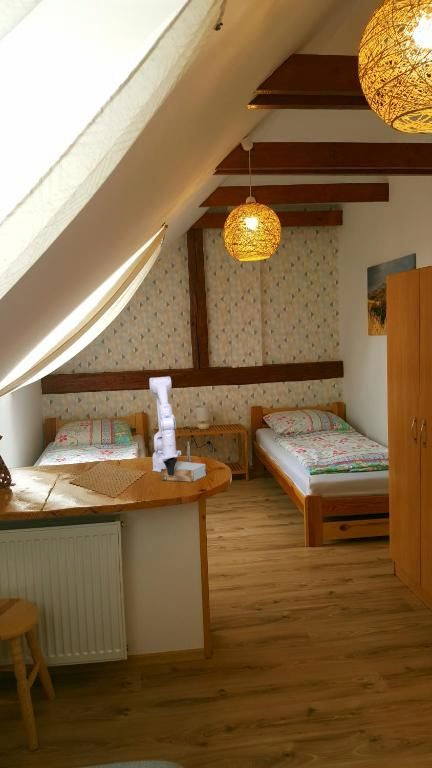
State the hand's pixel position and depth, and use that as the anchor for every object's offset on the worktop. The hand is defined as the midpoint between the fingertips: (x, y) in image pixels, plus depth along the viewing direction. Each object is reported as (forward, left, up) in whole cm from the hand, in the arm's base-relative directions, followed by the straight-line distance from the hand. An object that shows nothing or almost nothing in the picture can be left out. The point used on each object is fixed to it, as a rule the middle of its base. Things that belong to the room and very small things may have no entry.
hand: (170, 474), depth 248 cm
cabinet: (+1, +9, -3) cm, 10 cm away
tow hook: (-3, +24, -3) cm, 25 cm away
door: (+2, +1, -3) cm, 4 cm away
